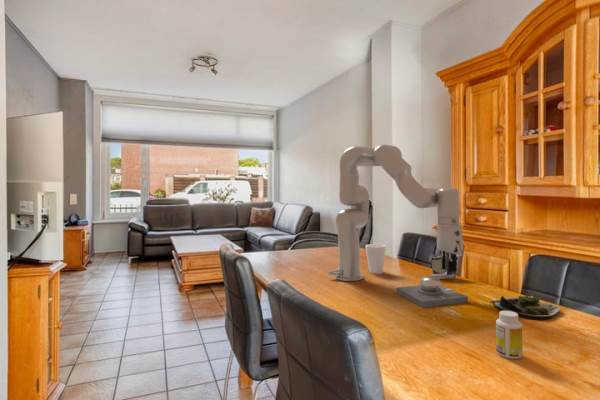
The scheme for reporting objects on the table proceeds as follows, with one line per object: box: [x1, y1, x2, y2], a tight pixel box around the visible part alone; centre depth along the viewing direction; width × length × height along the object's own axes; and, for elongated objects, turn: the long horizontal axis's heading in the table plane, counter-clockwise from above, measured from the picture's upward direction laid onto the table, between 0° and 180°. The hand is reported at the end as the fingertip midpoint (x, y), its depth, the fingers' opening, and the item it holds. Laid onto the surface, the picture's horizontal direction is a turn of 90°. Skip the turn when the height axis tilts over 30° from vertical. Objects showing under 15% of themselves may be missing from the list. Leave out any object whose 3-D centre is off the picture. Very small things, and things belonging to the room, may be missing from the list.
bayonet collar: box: [419, 252, 455, 292], centre depth 133 cm, size 13×9×14 cm
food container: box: [429, 253, 460, 280], centre depth 161 cm, size 12×6×10 cm, turn 84°
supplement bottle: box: [495, 310, 523, 360], centre depth 87 cm, size 6×6×10 cm
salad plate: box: [489, 295, 561, 321], centre depth 119 cm, size 19×18×5 cm
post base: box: [395, 284, 469, 308], centre depth 133 cm, size 18×18×3 cm
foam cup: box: [365, 243, 387, 275], centre depth 173 cm, size 10×9×13 cm
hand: (449, 269), depth 134 cm, fingers closed on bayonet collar, 3 cm apart
